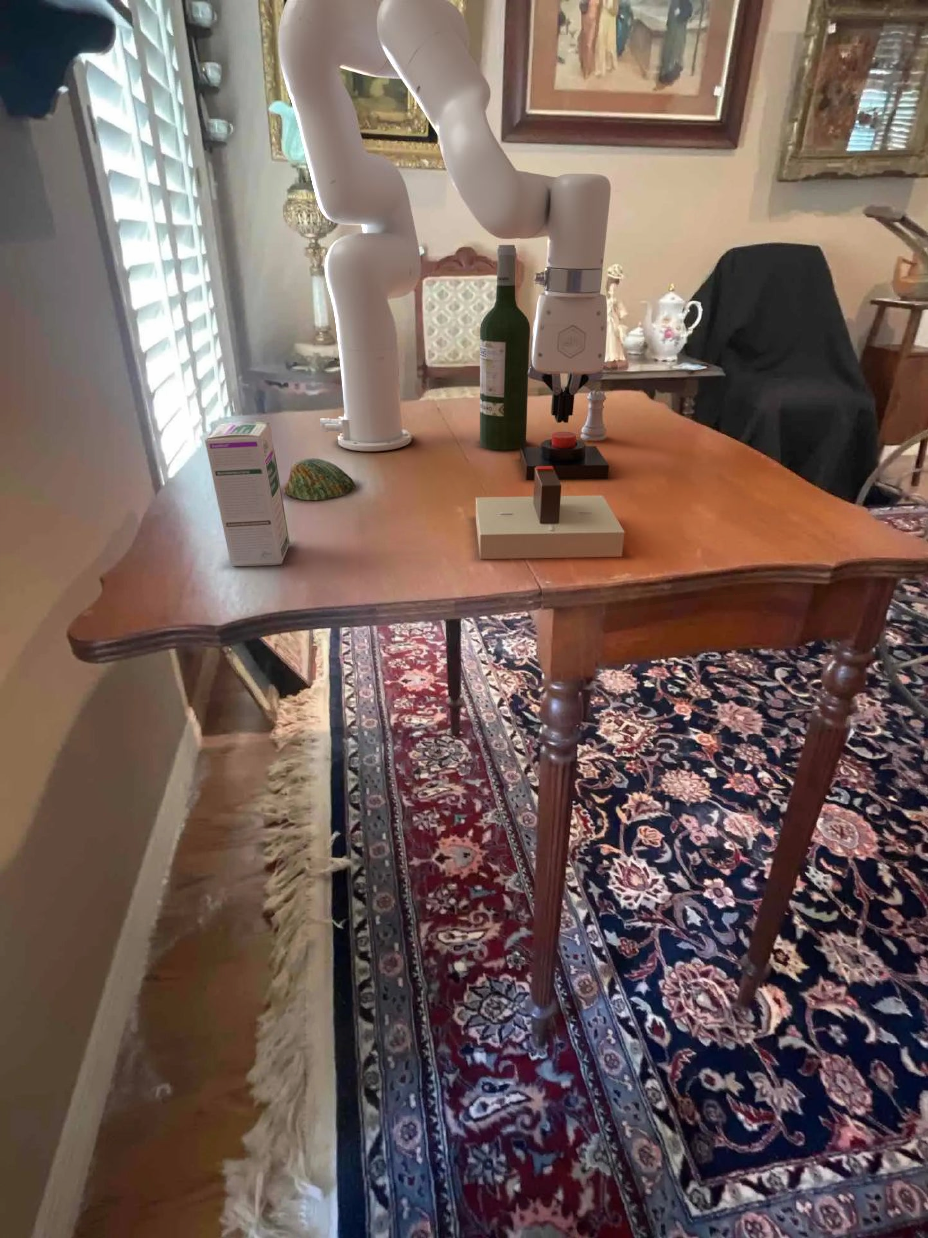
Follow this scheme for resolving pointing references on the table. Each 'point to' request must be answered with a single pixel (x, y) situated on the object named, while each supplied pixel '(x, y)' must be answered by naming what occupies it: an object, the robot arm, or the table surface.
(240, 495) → the syrup box
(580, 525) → the panel
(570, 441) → the button
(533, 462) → the button block
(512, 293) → the wine bottle
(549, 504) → the handle
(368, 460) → the table surface
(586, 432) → the rook chess piece
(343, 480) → the seashell
